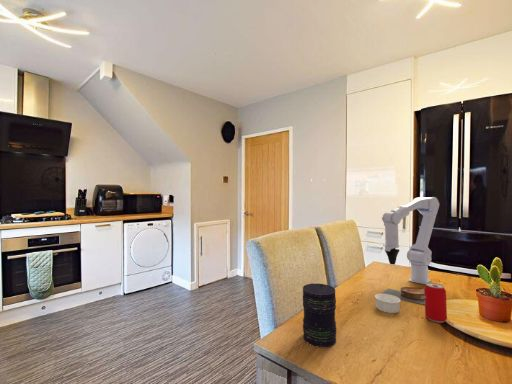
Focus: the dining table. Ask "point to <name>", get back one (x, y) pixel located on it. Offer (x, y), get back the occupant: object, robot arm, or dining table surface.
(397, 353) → the dining table surface
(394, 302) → the ramekin
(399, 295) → the mat
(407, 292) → the tin
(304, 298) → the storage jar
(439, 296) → the beverage can
